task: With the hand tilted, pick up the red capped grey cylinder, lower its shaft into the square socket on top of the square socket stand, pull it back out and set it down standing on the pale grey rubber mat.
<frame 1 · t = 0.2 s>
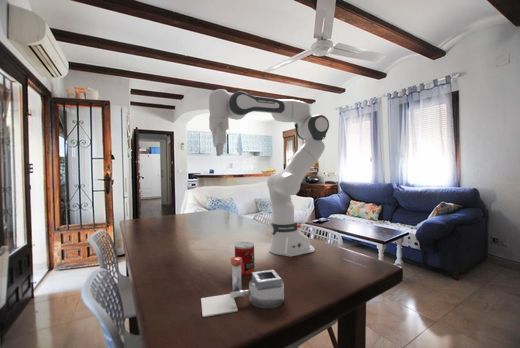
hand: (219, 155, 116), 48 cm above the table, tool pointing down, fingers open, 8 cm apart
square socket stand: (266, 298, 79), on the table
canned food: (244, 272, 101), on the table
rubber mat: (218, 305, 76), on the table
red capped grey cylinder: (237, 291, 85), on the table
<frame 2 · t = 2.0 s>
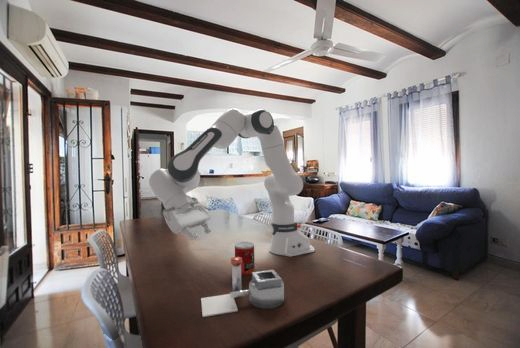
hand: (202, 235, 89), 18 cm above the table, tool tilted 45°, fingers open, 8 cm apart
nothing on the table moved.
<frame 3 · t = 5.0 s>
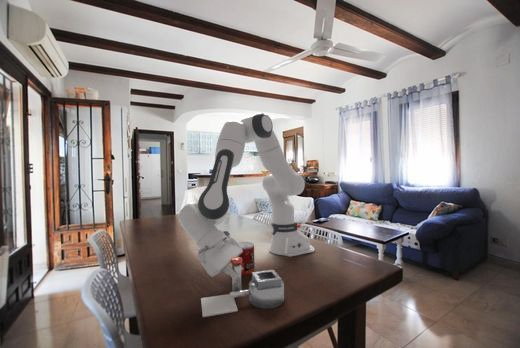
hand: (238, 274, 84), 6 cm above the table, tool tilted 45°, fingers closed on red capped grey cylinder, 3 cm apart
red capped grey cylinder: (237, 291, 85), on the table, touching gripper
everything else where it was.
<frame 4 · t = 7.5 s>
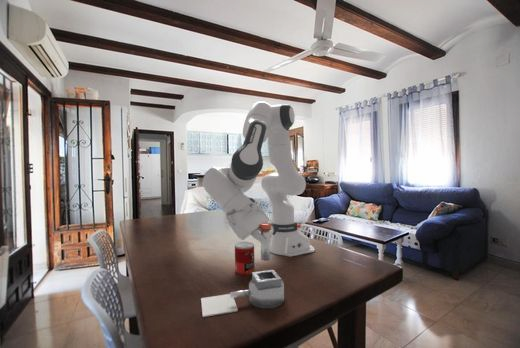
hand: (267, 240, 79), 19 cm above the table, tool tilted 45°, fingers closed on red capped grey cylinder, 3 cm apart
red capped grey cylinder: (265, 258, 79), point 13 cm above the table, touching gripper
everything else where it was.
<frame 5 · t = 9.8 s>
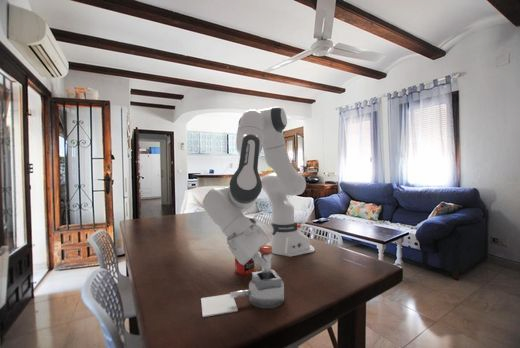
hand: (268, 263, 79), 12 cm above the table, tool tilted 45°, fingers closed on red capped grey cylinder, 3 cm apart
red capped grey cylinder: (266, 281, 79), point 6 cm above the table, touching gripper
everything else where it was.
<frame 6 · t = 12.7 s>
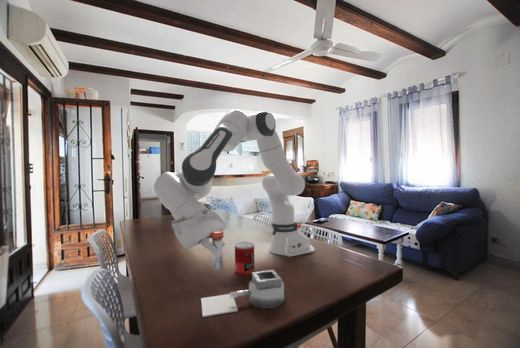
hand: (219, 248, 76), 17 cm above the table, tool tilted 45°, fingers closed on red capped grey cylinder, 3 cm apart
red capped grey cylinder: (217, 268, 76), point 11 cm above the table, touching gripper
everything else where it was.
when the fingers open (7 cm above the table, at t = 15.0 s): red capped grey cylinder stays where it is, resting on rubber mat.
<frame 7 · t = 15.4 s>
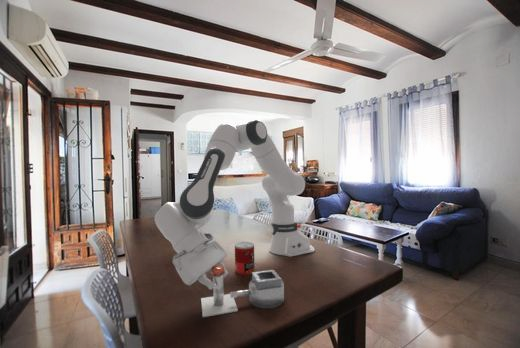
hand: (220, 281, 76), 7 cm above the table, tool tilted 45°, fingers open, 7 cm apart
red capped grey cylinder: (218, 303, 76), resting on rubber mat
everything else where it was.
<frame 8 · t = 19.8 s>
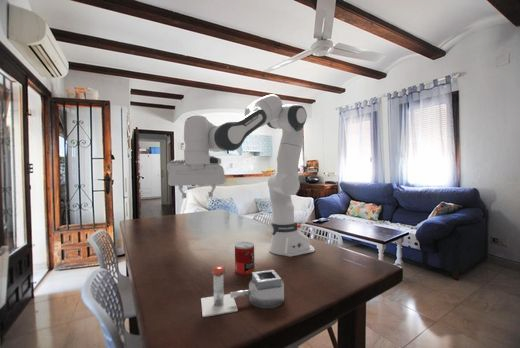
hand: (197, 197, 92), 31 cm above the table, tool pointing down, fingers open, 8 cm apart
nothing on the table moved.
at the end: red capped grey cylinder inside the target area on the rubber mat (0.1 cm from its centre), point 0.4 cm above the rubber mat's base; red capped grey cylinder tilted 0°; the gripper is holding nothing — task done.
